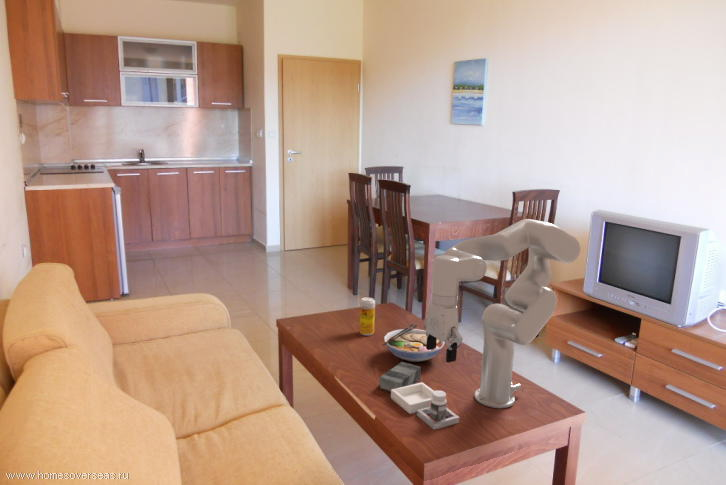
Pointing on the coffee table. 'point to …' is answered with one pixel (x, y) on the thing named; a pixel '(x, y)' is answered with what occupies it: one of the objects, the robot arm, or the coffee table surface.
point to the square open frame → (438, 424)
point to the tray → (412, 397)
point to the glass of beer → (367, 316)
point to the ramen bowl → (411, 344)
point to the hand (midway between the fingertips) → (440, 355)
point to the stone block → (400, 376)
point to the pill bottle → (438, 406)
